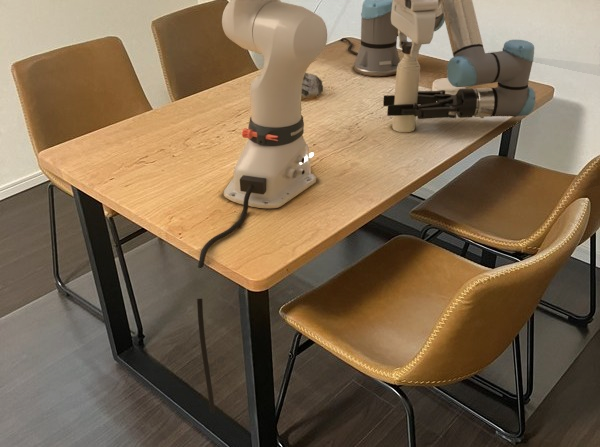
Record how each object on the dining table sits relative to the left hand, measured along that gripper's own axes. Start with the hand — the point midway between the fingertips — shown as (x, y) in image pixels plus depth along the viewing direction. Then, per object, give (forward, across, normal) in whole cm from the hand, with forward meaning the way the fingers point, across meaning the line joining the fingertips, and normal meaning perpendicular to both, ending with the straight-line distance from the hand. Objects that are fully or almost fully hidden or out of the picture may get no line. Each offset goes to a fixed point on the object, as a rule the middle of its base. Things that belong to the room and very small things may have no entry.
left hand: (408, 52), depth 155 cm
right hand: (+14, 0, -5) cm, 15 cm away
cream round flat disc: (+20, -20, +21) cm, 35 cm away
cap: (-2, 0, 0) cm, 2 cm away
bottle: (+20, 0, 0) cm, 20 cm away
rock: (+20, -32, -22) cm, 43 cm away
